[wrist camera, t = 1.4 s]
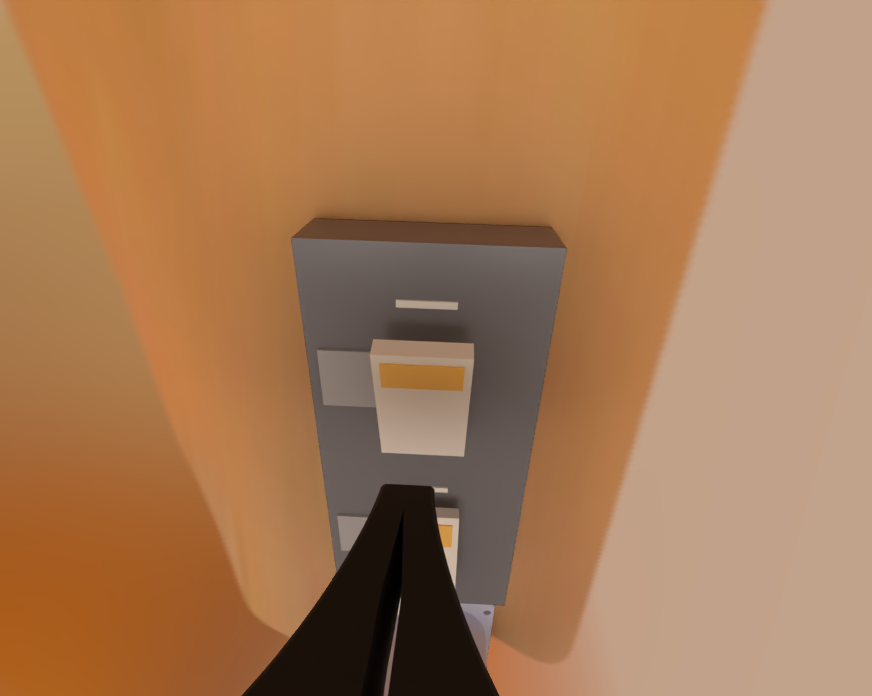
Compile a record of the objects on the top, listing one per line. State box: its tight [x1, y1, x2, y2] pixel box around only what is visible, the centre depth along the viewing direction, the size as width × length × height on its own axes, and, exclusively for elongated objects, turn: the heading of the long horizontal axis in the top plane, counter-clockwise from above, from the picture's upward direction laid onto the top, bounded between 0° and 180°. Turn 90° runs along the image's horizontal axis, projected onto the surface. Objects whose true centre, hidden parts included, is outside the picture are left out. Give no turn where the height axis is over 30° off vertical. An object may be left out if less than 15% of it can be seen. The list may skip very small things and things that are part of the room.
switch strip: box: [291, 218, 567, 606], centre depth 23 cm, size 22×10×3 cm, turn 179°
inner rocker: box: [397, 507, 459, 615], centre depth 23 cm, size 6×4×1 cm, turn 179°
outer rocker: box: [370, 339, 474, 457], centre depth 18 cm, size 6×4×1 cm, turn 178°
